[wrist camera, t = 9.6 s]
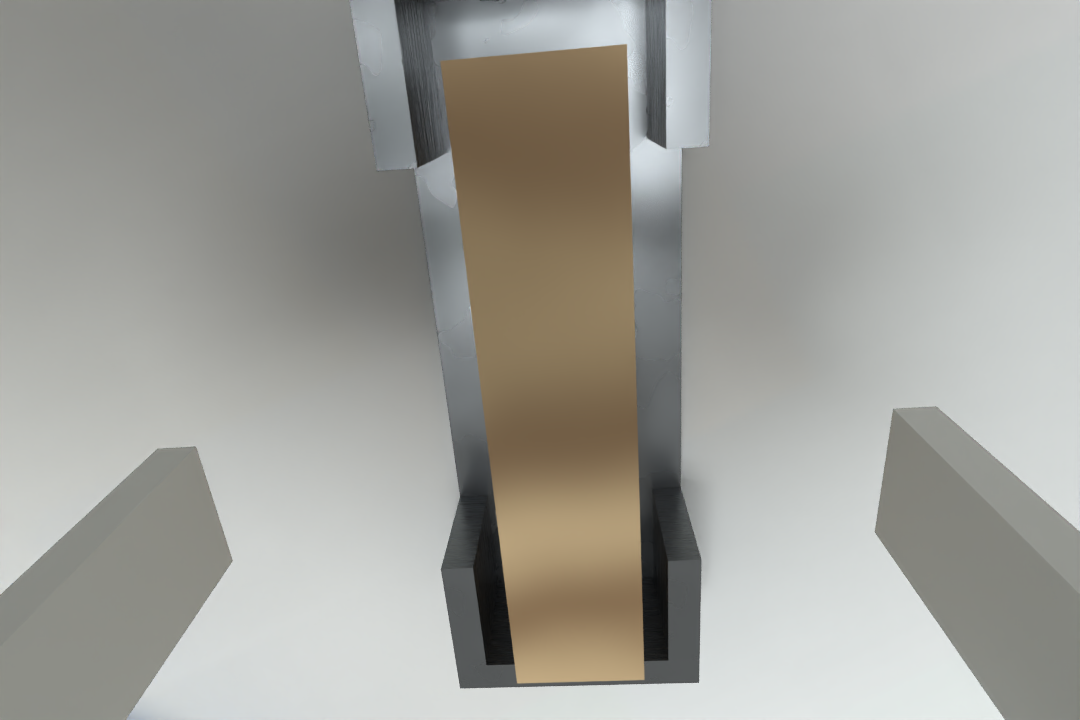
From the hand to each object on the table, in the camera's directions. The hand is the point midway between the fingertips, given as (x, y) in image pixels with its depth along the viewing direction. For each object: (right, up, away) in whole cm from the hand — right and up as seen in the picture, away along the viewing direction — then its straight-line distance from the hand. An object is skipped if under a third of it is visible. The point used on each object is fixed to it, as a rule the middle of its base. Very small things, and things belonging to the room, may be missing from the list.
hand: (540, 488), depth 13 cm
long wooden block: (+1, +3, +9) cm, 10 cm away
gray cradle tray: (+1, +4, +10) cm, 10 cm away
